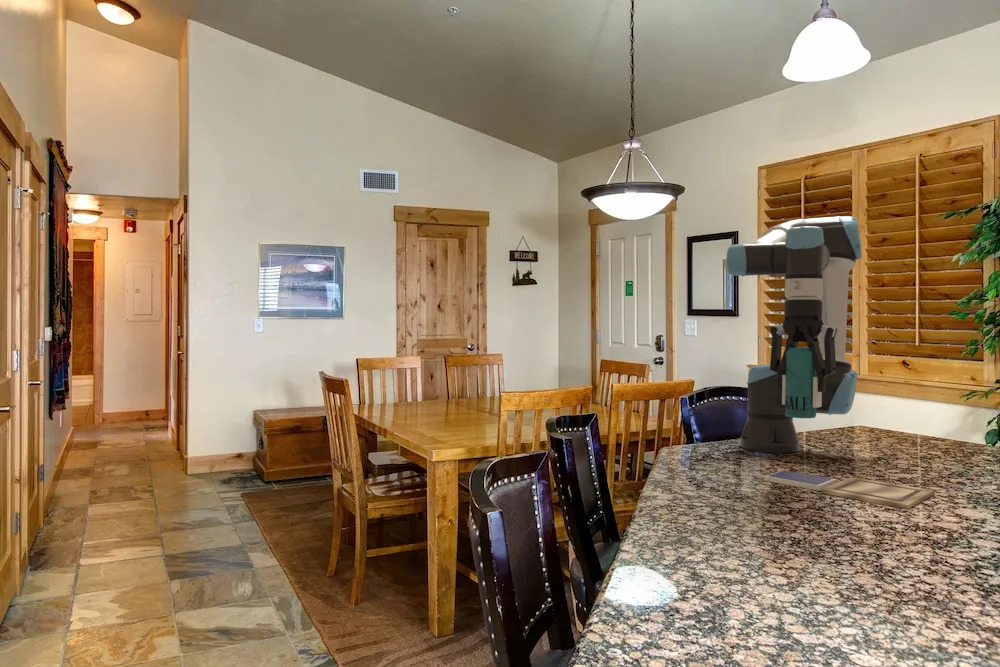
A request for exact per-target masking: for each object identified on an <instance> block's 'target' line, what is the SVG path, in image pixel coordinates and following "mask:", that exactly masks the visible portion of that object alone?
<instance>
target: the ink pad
mask: <svg viewBox="0 0 1000 667" xmlns="http://www.w3.org/2000/svg"><path fill="white" fill-rule="evenodd" d="M763 481H764V482H769V483H775V484H781V485H787V486H790V487H791V486H793V487H796V488H801V487H802V489H808V490H811V491H820V492H821V489H823V488H825V487H828V486H831V485H833V484H836V483H838V479H837V478H832V477H826V476H821V475H815V474H809V473H801V472H797V471H790V470H786V469H785V470H783V469H782V470H779V471H776V472H773V473H770V474H766V475H764V476H763Z"/></svg>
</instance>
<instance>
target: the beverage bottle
mask: <svg viewBox="0 0 1000 667" xmlns="http://www.w3.org/2000/svg"><path fill="white" fill-rule="evenodd" d="M792 341H806V339H805V336H804V334H803V332H795V333H794V334H793V338H792ZM812 355H813V353H812V352H811V351H810V349H809V347H808V346H796V347H791V348H789V349H788V350H787V351H786V369H785V370H786V373H785V377H786V389H785V390H786V395H785V414H786V416H787V417H793V418H795V419H815V418H816V417H817V413H816V408H813V377H816V370H815V366H814V363H813V360H812Z"/></svg>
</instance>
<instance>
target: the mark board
mask: <svg viewBox="0 0 1000 667" xmlns="http://www.w3.org/2000/svg"><path fill="white" fill-rule="evenodd" d="M820 492H821V494H824V495H830V496H831V495H832V496H835V497H840V498H841V497H842V498H846V499H852V500H855V501H856V500H857V501H861V502H862V501H863V502H867V503H873V504H878V505H885V506H889V507H894V508H900V509H905V510H909V509H911V508H912V507H915V506H916V505H918V504H920V503H922V502H924V501H925V500H927V499H928V498H931V497H933V496H934V495H935V490H933V489H928V488H927V489H926V488H919V487H913V486H908V485H902V484H896V483H889V482H883V481H878V480H872V479H865V478H860V477H859V478H858V477H854V476H851V477H848V478H846V479H844V480H840V481H837V483H836V484H833V485H831V486H828V487H825V488H823V489H821V490H820Z"/></svg>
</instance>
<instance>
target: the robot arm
mask: <svg viewBox="0 0 1000 667" xmlns="http://www.w3.org/2000/svg"><path fill="white" fill-rule="evenodd" d="M862 250H863V249H862V241H861V232H860V227H859V221H858V219H857V218H856V217H855V216H839V215H837V216H828V217H826V216H825V217H813V218H798V219H791V220H787V221H784V222H782V223H778V224H775V225H774V226H773V225H772V227H769V228H767V229H766V230H765V231H764V232H763V233H762V234H761V235H760V237H759V238H757V239H755V240H754V241H752V242H750V243H740V244H731V245H730V246H729V247H728V248H727V251H726V256H725V257H726V259H725V260H726V261H725V262H726V263H725V264H726V269H727V272H728V273H729V275H731V276H733V277H735V276H739V277H740V276H741V277H746V276H747V277H748V276H772V275H773V276H774V275H775V276H780V275H781V276H784V281H785V282H784V297H785V298H787V300H785V301H784V312H783V314H784V320H783V322H782V324H781V325H778V326H771V327H770V328H769V329H770V333H771V334H770V335H771V347H770V348H771V349H770V350H771V351H770V361H769V363H768V364H767V363H766V364H759V365H754V366H752V367H750V369H749V370H748V375H747V382H746V384H747V405H746V406H747V410H746V411H747V413H746V414H747V416H746V417H747V418H746V421H745V423H744V424H745V425H744V427H743V430H742V433H741V436H740V437H739V438H740V440H739V441H740V442H739V445H740V448H742V449H744V450H749V451H754V452H761V453H771V454H772V453H773V454H776V453H777V454H787V453H788V454H789V453H796V452H799V451H800V441H799V440H800V439H799V437H798V434H797V431H796V427H795V425H794V419H793V417H787V416H786V414H785V395H786V390H785V389H786V377H785V373H786V370H785V369H786V351H787V350H788V349H789V348H791V347H798V345H799V343H800V342H803V343H806V347H809V349H810V351H811V352H812V353H813V355H812V360H813V363H814V366H815V370H816V377H813V408H816V414H822V415H823V414H824V415H825V414H826V415H828V416H831V415H840V416H841V415H843V416H844V415H846V414H849V412H850V411H851V409H852V407H853V404H854V400H855V396H856V390H857V380H858V372H857V371H856V370H854V369H852V363H851V362H850V361H849V360H848V359H847V358H846V349H847V348H846V346H847V345H846V343H847V342H846V341H847V323H848V322H847V320H848V319H847V318H848V301H849V300H848V297H849V296H848V295H849V279H850V278H849V276H850V271H851V270H852V269H854V268H855V267H856V260H860V259H862V258H863V254H862V253H863V251H862ZM784 332H785V333H786V335H787V339H786V341H785V348H784V351H783V354H782V349H783V348H782V347H783V334H784ZM795 332H803V334H804V336H805V339H806V341H792V338H793V334H794V333H795Z"/></svg>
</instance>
